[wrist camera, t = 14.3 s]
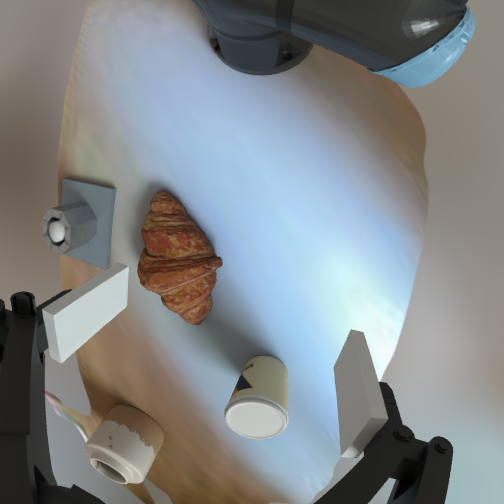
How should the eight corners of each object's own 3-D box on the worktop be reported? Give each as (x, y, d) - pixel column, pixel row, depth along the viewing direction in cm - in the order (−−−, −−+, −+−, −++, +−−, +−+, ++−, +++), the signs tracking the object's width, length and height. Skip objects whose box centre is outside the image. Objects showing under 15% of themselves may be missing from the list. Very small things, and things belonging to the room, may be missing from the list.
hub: (70, 199, 44) (42, 206, 38) (98, 206, 44) (71, 214, 37) (68, 237, 46) (42, 247, 40) (95, 246, 46) (70, 258, 39)
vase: (169, 423, 57) (141, 476, 41) (161, 451, 62) (138, 497, 46) (111, 394, 58) (75, 439, 42) (111, 425, 63) (82, 466, 47)
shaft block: (67, 178, 45) (35, 182, 37) (116, 188, 44) (84, 194, 36) (63, 250, 49) (34, 262, 41) (109, 267, 48) (81, 284, 40)
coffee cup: (247, 344, 47) (232, 391, 36) (300, 361, 47) (298, 411, 35) (233, 381, 50) (216, 429, 39) (281, 397, 50) (274, 446, 38)
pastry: (123, 261, 47) (95, 277, 40) (164, 185, 42) (137, 190, 35) (200, 322, 48) (184, 348, 40) (254, 252, 43) (244, 270, 35)
